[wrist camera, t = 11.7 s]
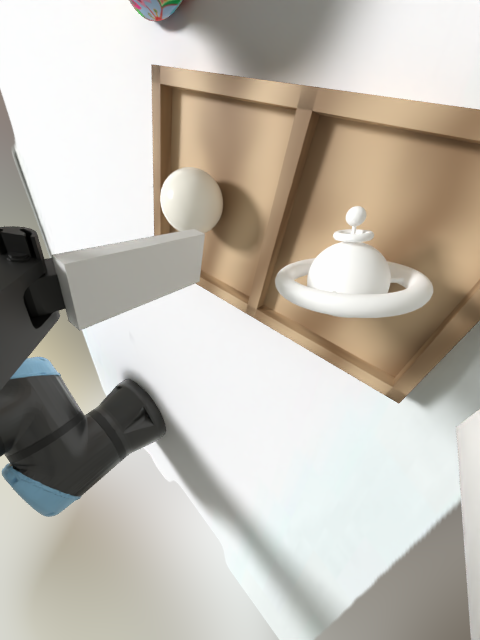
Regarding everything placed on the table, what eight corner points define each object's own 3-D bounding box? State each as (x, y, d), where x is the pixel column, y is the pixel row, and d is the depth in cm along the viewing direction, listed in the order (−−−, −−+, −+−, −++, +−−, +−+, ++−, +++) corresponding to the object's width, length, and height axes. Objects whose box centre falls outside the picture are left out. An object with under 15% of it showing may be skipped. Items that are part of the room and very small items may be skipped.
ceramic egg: (190, 220, 25) (147, 227, 21) (194, 161, 22) (145, 158, 18) (230, 238, 23) (189, 249, 19) (240, 176, 20) (195, 176, 16)
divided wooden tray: (168, 255, 30) (154, 259, 29) (171, 72, 20) (151, 64, 19) (402, 387, 20) (399, 403, 18) (630, 140, 10) (659, 134, 9)
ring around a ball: (305, 281, 20) (249, 321, 14) (311, 202, 17) (245, 213, 12) (427, 299, 16) (414, 367, 10) (458, 198, 13) (465, 214, 7)
